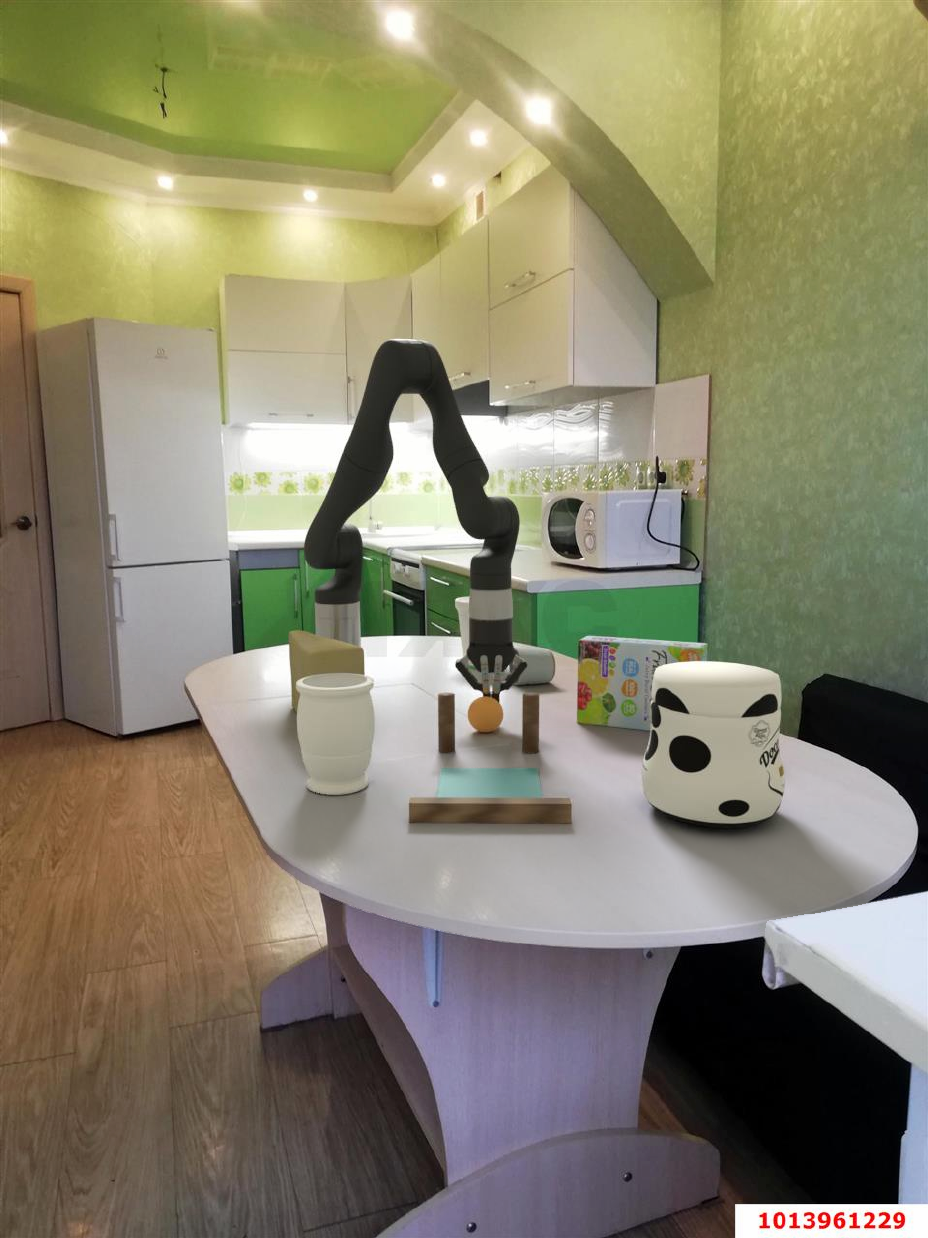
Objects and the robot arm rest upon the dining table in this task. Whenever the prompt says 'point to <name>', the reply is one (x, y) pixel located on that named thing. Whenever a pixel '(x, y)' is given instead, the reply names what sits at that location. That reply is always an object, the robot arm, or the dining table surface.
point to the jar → (336, 731)
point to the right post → (530, 723)
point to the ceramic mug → (535, 666)
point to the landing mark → (489, 783)
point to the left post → (446, 722)
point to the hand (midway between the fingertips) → (491, 713)
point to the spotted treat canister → (714, 744)
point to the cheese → (320, 658)
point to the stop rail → (489, 810)
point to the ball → (485, 714)
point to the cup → (464, 623)
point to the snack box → (624, 677)
